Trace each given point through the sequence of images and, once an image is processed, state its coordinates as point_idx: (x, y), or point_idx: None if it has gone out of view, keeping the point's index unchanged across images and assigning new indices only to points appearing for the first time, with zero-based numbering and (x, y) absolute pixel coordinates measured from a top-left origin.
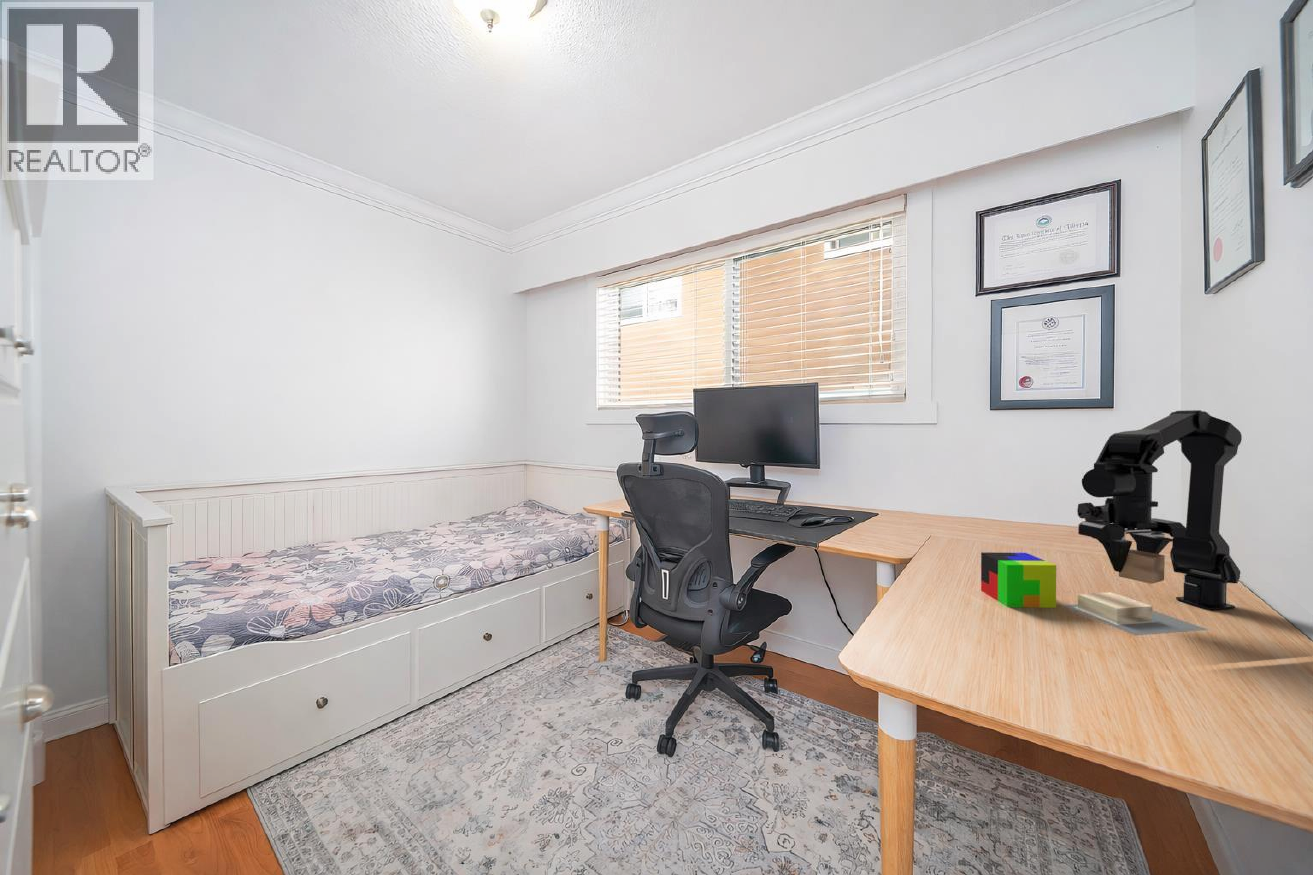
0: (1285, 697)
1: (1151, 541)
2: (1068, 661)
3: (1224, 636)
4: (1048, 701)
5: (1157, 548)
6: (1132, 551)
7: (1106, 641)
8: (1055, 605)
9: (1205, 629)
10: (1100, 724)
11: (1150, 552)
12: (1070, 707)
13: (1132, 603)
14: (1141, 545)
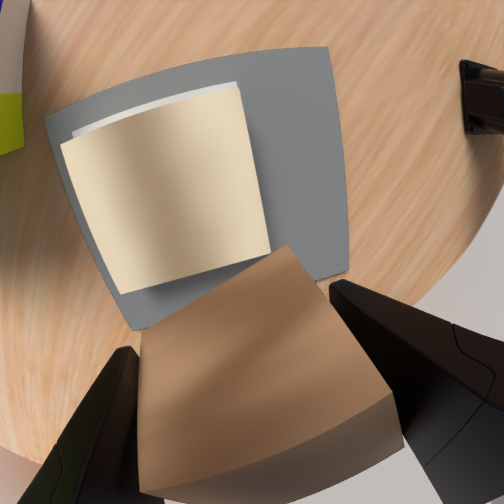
0: None
1: (462, 487)
2: (10, 392)
3: (355, 279)
4: (2, 432)
5: (424, 468)
6: (295, 463)
7: (67, 341)
8: (15, 149)
9: (342, 270)
10: (33, 451)
11: (411, 425)
12: (16, 439)
13: (217, 232)
14: (462, 421)
